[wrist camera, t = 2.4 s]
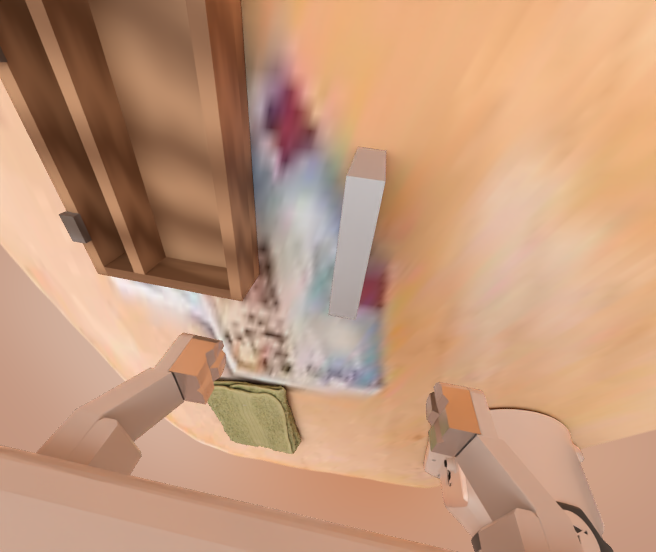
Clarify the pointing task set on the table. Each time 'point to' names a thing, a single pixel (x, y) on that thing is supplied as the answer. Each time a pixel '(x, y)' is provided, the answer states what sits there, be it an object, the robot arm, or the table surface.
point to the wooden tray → (141, 133)
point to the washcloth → (255, 415)
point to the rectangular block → (357, 229)
